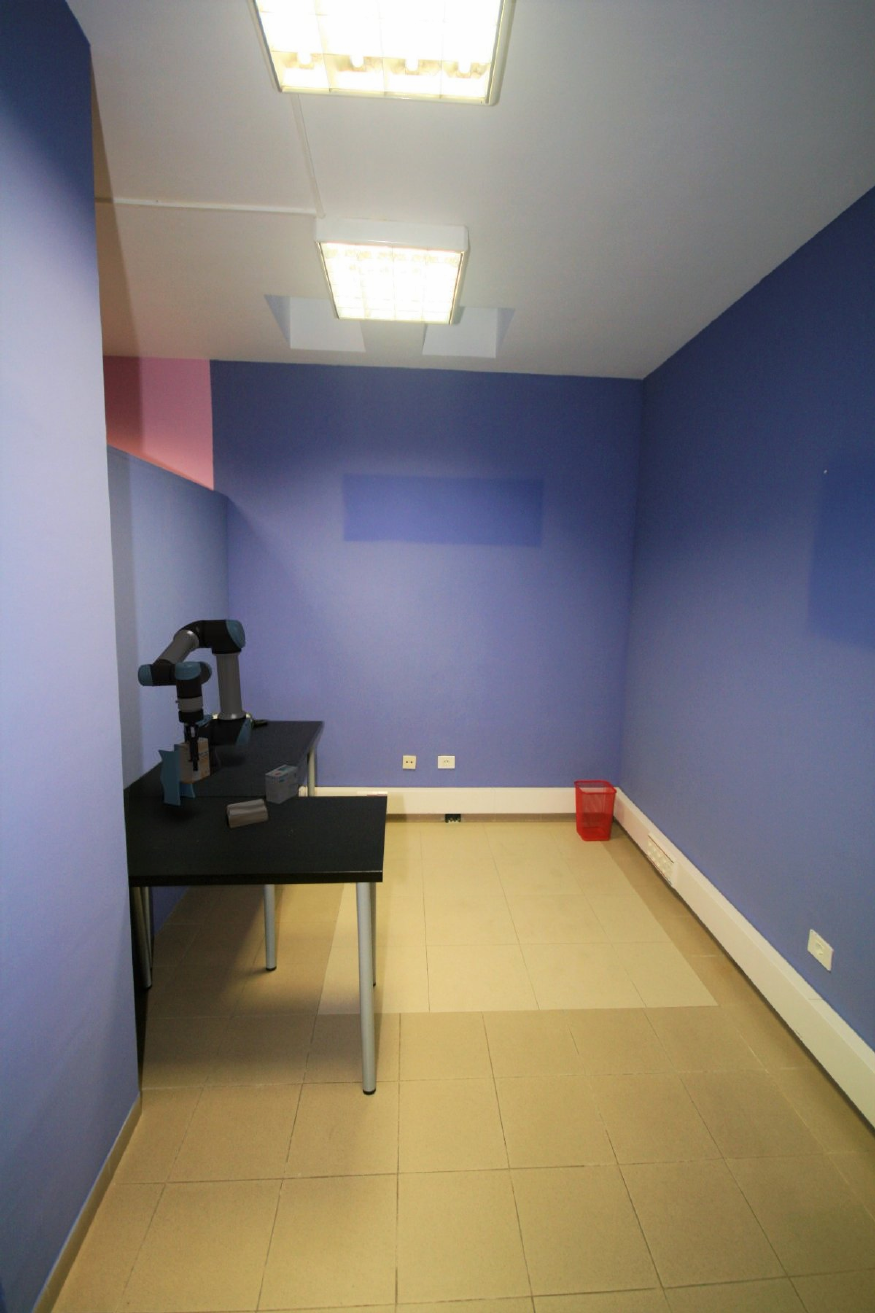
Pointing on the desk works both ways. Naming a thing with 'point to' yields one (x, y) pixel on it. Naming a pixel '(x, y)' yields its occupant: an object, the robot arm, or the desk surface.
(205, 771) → the supplement box
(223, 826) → the desk surface
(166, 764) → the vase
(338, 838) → the desk surface
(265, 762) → the desk surface
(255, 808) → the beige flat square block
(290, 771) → the light bulb box
